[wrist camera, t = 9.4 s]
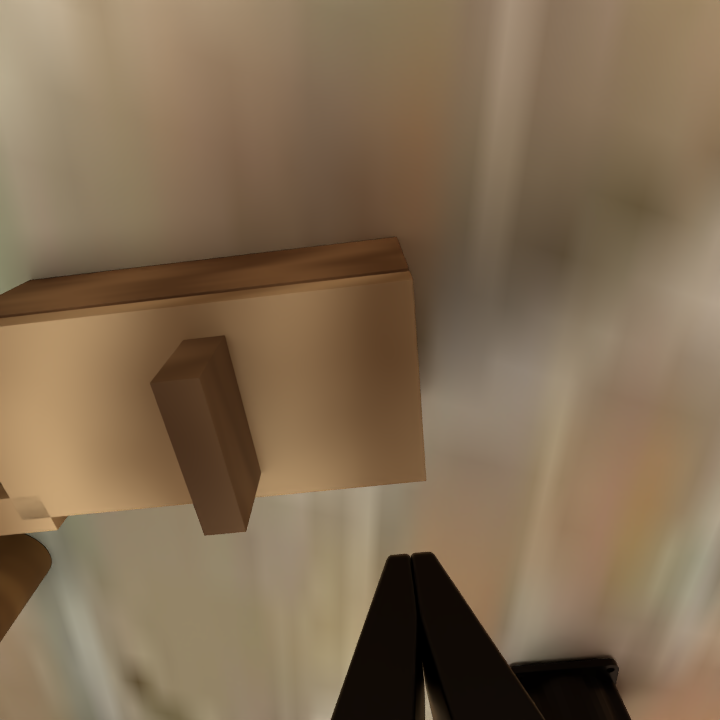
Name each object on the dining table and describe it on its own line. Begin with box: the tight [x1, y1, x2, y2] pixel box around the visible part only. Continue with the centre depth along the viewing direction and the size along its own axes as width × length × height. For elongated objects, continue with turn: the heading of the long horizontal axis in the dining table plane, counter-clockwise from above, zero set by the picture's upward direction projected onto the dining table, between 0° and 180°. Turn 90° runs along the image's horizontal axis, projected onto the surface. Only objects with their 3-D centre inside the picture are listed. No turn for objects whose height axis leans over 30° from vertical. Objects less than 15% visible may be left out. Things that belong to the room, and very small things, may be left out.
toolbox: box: [0, 237, 409, 485], centre depth 18 cm, size 22×10×4 cm, turn 97°
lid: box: [0, 271, 426, 536], centre depth 14 cm, size 17×8×3 cm, turn 97°
